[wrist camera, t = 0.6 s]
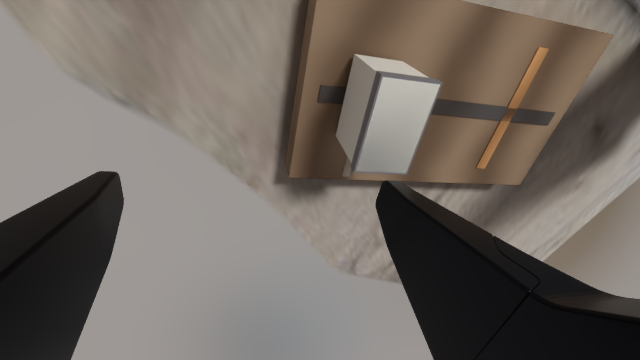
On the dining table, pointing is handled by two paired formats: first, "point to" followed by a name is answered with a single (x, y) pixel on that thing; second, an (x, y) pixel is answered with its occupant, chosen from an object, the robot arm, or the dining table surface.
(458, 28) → the fader console
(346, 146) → the fader tab
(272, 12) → the dining table surface
